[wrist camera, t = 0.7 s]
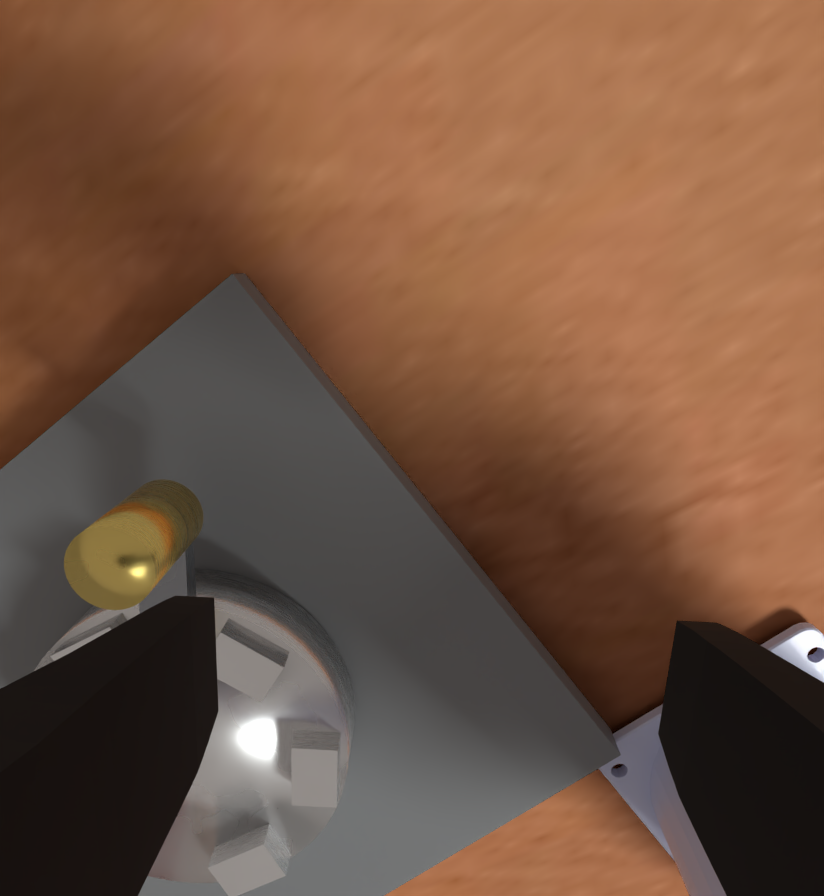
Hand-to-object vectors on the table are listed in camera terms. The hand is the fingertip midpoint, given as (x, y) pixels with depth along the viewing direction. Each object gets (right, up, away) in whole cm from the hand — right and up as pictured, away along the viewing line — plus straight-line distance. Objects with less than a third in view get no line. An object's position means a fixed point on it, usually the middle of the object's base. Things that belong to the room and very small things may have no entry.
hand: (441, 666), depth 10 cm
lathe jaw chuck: (-7, -3, +9) cm, 12 cm away
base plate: (-7, -4, +11) cm, 13 cm away
